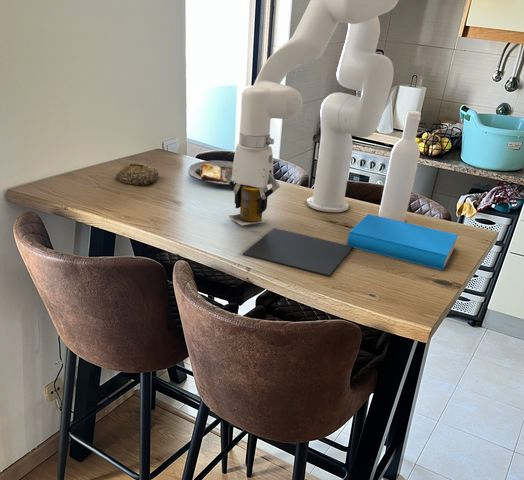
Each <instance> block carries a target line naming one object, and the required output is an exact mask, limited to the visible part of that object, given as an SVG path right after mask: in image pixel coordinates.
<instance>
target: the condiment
mask: <svg viewBox="0 0 524 480" xmlns="http://www.w3.org/2000/svg"><path fill="white" fill-rule="evenodd" d="M260 198H261V195H260V191H259V188H256V187H252V186H249V185H242V186H241V206H240V207H239V211H240V212H239V213H238V214H230V215H228V217H229V218H230V219H231V220H233V222H235V223H237V224H239V225H240V226H247V225H252V224H253V225H254V224H259V223H260V224H261V223H266V222H268V221H269V220H268V219H266V218H264V217H263V213H259V212H258V211H259V199H260Z"/></svg>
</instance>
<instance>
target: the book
mask: <svg viewBox="0 0 524 480" xmlns="http://www.w3.org/2000/svg"><path fill="white" fill-rule="evenodd" d="M458 238H459V234H457V233H453V232H448V231H444V230H440V229H434V228H430V227H425V226H421V225H417V224H412V223H409V222H406V221H405V222H400V221H396V220H392V219H387V218H383V217H379V215H374V214H369V213H368V214H366V215H365V217H363V218H362V219H361V220H360V221H359V222H358V223H357V224H356V225H355V226H354V227H352V229H350V231H349V232H348V236H347V242H346V243H347V244H346V245H348V246H352V247H353V249H354V248H355V249H358V250H362V251H366V252H369V253H374V254H378V255H381V256H386V257H390V258H393V259H397V260H401V261H405V262H409V263H413V264H417V265H421V266H424V267H429V268H433V269H437V270H440V271H444V270H445V267H446V265H447V263H448V262H449V259H450V258H451V256H452V255H453V252H454V251H455V248H456V244H457V240H458Z"/></svg>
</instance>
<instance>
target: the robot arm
mask: <svg viewBox="0 0 524 480" xmlns="http://www.w3.org/2000/svg"><path fill="white" fill-rule="evenodd" d="M399 1H400V0H309V3H308V4H307V6H306V9H305V11H304V13H303V14H302V17H301V18H300V21H299V23H298V24H297V27H296V29H295V31H294V33H293V35H292V36H291V38H289V40H287V41H286V42H285V43H283V44H282V45H281V46H280V47H279V48H278V49H277V50H275V52H273V53H272V54H271V55H270V56H269V57H268V59H266V61H265V62H264V64H263V65H262V67H261V68H260V71H259V73H258V74H257V76H256V79H255V80H254V83H253V85H248V86H245V87H243V88H242V90H241V93H240V111H239V112H240V113H239V133H238V134H239V137H238V138H239V139H238V143H237V144H236V145H235V146H236V147H235V151H234V155H233V160H232V162H233V169H232V170H231V171H230V172H229V173H227V174H226V175H225V179H226V180H227V182H228V183H229V185H228V186H230V188H231V189H232V192H233V193H234V204H235V209H240V206H241V186H242V185H249V186H252V187H256V188H259V191H260V195H261V198H260V199H259V211H258V212H259V213H262V214H263V213H264V212H266V210H267V208H268V198H269V196H271V195H272V194H274V192H275V191H277V190H278V189H279V188H281V185H280V184H279V182H278V181H277V179H276V177H274V154H273V148H272V146H271V145H274V143H275V139H274V138H272V137H271V134H270V129H271V120H272V119H279V120H290V119H293V118H295V117H296V116H297V115H298V114H300V112H301V110H302V108H303V97H302V94H301V93H300V92H299V91H298V90H297V89H296V88H294V87H292V86H290V85H285V84H282V81H283V80H284V79H285V77H287V75H288V74H289V73H291V72H292V71H294V70H295V69H297V68H298V67H301V66H303V65H306V64H309V63H311V62H314V61H316V60H318V59H320V58H321V57H322V56H323V54H324V53H325V51H326V48H327V46H328V44H329V42H330V40H331V38H332V37H333V34H334V33H335V31H336V29H337V27H338V25H339V24H340V23H341V24H348V27H347V33H346V37H345V42H344V44H343V49H342V52H341V56H340V58H339V62H338V67H337V71H336V80H337V82H338V83H339V85H340V86H342V87H344V88H346V89H349V90H352V91H357V92H361V95H360V96H357V95H354V94H350V93H346V92H333V93H330V94H329V95H327V96H326V97H325V98H324V100H323V102H322V103H321V107H320V141H319V142H320V143H319V149H318V156H317V164H316V170H315V177H314V178H315V179H314V187H313V194H312V196H310V197H308V198H307V200H306V205H307V206H308V207H309V208H311V209H313V210H315V211H316V210H317V211H319V212H325V213H342V212H345V211H347V210H348V209H349V206H350V205H349V203H348V202H347V200H345V199H346V198H345V197H346V193H347V188H348V187H347V186H348V180H349V175H350V168H351V161H352V156H353V149H354V145H353V142H354V141H353V137H352V136H356V137H359V138H367V137H370V136H372V135H374V133H375V132H376V131H377V129H378V127H379V125H380V122H381V119H382V117H383V114H384V111H385V108H386V104H387V102H388V98H389V95H390V92H391V90H392V85H393V83H394V75H395V74H394V72H395V71H394V65H393V62H392V60H391V59H390V58H389V57H388V56H386V55H384V54H381V53H376V52H377V48H378V43H379V40H380V35H381V23H380V19H379V17H381V16H383V15H385V14H387V13H389V12H391V11H392V10H393V9H394V8H395V7H396V6H397V4H398V3H399ZM269 185H271V187H270V188H269V187H268V186H269Z"/></svg>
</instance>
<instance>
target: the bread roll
mask: <svg viewBox="0 0 524 480" xmlns="http://www.w3.org/2000/svg"><path fill="white" fill-rule="evenodd" d="M115 178H116V180H118V181H120V182H121V183H124V184H127V185H134V186H137V187H138V186H139V187H144V186H147V185H150V184H152V183H154V182H155V181H157V179H158V178H159V172H158V171H157V169H156V168H155V167H153V166H149V165H148V164H145V163H137V162H136V163H135V162H133V163H129V164H126V165H124V166H123V168H121V169H120V170H119V171H118V172H117V173H116V174H115Z"/></svg>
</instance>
